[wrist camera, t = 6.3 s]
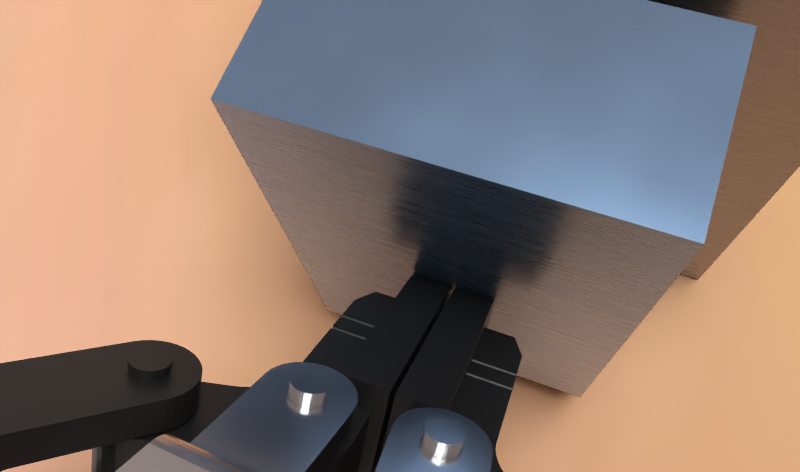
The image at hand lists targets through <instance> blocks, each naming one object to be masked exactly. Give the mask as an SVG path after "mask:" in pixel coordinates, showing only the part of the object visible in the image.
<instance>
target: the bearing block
mask: <svg viewBox="0 0 800 472" xmlns="http://www.w3.org/2000/svg"><path fill="white" fill-rule="evenodd" d="M262 1H263V0H262ZM648 1H653V2H657V3H661V4H665V5H670V6H674V7H678V8H682V9H687V10H691V11H695V12H699V13H704V14H708V15H712V16H716V17H721V18H725V19H729V20H733V21H738V22H742V23H746V24H750V25H755V26H757V28H756V32H755V36H754V40H753V44H752V49H751V53H750V57H749V61H748V65H747V69H746V73H745V78H744V82H743V86H742V90H741V94H740V98H739V102H738V106H737V111H736V115H735V119H734V123H733V127H732V131H731V135H730V140H729V144H728V148H727V152H726V156H725V160H724V164H723V169H722V173H721V177H720V181H719V185H718V189H717V193H716V198H715V202H714V206H713V210H712V214H711V218H710V222H709V227H708V231H707V235H706V239H705V243H704V245H703V246H702V248H701V249H700V250H699V251H698V252H697V254H696V255H695V256H694V257H693V259H692V260H691V261H690V262H689V264H688V265H687V266H686V267H685V268H684V270H683V271H682V272H681V273H680V274H682V275H685V276H688V277H692V278H695V279H699V278H700V277H701V276H702V275H703V273H704V272H705V271H706V270H707V269H708V268H709V267H710V266H711V264H712V263H713V262H714V261H715V260H716V259H717V258H718V257H719V256H720V254H721V253H722V252H723V251H724V250H725V249H726V248H727V247H728V246H729V244H730V243H731V242H732V241H733V240H734V239H735V238H736V237H737V235H738V234H739V233H740V232H741V231H742V230H743V229H744V228H745V227H746V225H747V224H748V223H749V222H750V221H751V220H752V219H753V218H754V217H755V215H756V214H757V213H758V212H759V211H760V210H761V209H762V208H763V206H764V205H765V204H766V203H767V202H768V201H769V200H770V199H771V198H772V196H773V195H774V194H775V193H776V192H777V191H778V190H779V189H780V187H781V186H782V185H783V184H784V183H785V182H786V181H787V180H788V179H789V177H790V176H791V175H792V174H793V173H794V172H795V171H796V170H797V169H798V167H799V166H800V0H648Z"/></svg>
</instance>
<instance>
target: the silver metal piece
mask: <svg viewBox="0 0 800 472" xmlns="http://www.w3.org/2000/svg"><path fill="white" fill-rule="evenodd" d="M756 28H757V26H755V25H750V24H746V23H742V22H738V21H733V20H729V19H725V18H721V17H716V16H712V15H708V14H704V13H699V12H695V11H691V10H687V9H682V8H678V7H674V6H670V5H665V4H661V3H657V2H653V1H648V0H263V1H262V3H261V5H260V7H259V9H258V10H257V12H256V14H255V16H254V18H253V20H252V22H251V24H250V26H249V27H248V29H247V31H246V33H245V35H244V37H243V39H242V41H241V43H240V44H239V46H238V48H237V50H236V52H235V54H234V56H233V58H232V59H231V61H230V63H229V65H228V67H227V69H226V71H225V73H224V75H223V76H222V78H221V80H220V82H219V84H218V86H217V88H216V90H215V92H214V93H213V95H212V97H211V100H212V102H213V104H214V106H215V108H216V109H217V111H218V113H219V115H220V117H221V118H222V120H223V122H224V124H225V126H226V127H227V129H228V131H229V133H230V135H231V136H232V138H233V140H234V142H235V144H236V145H237V147H238V149H239V151H240V153H241V154H242V156H243V158H244V160H245V162H246V163H247V165H248V167H249V169H250V171H251V172H252V174H253V176H254V178H255V180H256V181H257V183H258V185H259V187H260V189H261V190H262V192H263V194H264V196H265V198H266V199H267V201H268V203H269V205H270V207H271V208H272V210H273V212H274V214H275V216H276V217H277V219H278V221H279V223H280V225H281V226H282V228H283V230H284V232H285V234H286V235H287V237H288V239H289V241H290V243H291V244H292V246H293V248H294V250H295V252H296V253H297V255H298V257H299V259H300V261H301V262H302V264H303V266H304V268H305V270H306V271H307V273H308V275H309V277H310V279H311V280H312V282H313V284H314V286H315V288H316V289H317V291H318V293H319V295H320V297H321V298H322V300H323V302H324V304H325V306H326V307H327V309H328V310H329V311H332V312H335V313H338V314H340V315H343V313H344V312H345V311H346V310H347V308H348V307H349V306H350V305H351V304H352V302H353V301H354V300H356V299H358V298H361V297H363V296H366V295H368V294H371V293H373V292H379V293H382V294H385V295H388V296H391V297H394V298H395V297H396V296H397V295H398V293H399V292H400V291H401V289H402V288H403V286H404V285H405V284H406V282H407V281H408V279H409V278H410V277H411V276H412V275H414V276H417V277H420V278H423V279H426V280H429V281H432V282H435V283H439V284H442V285H445V286H448V287H451V294H452V292H453V290H454V289H458V290H461V291H464V292H467V293H470V294H473V295H476V296H479V297H482V298H485V299H488V300H492V301H494V305H493V309H492V313H491V317H490V320H489V324H488V327H487V328H488V329H491V330H494V331H497V332H500V333H503V334H506V335H509V336H512V337H515V339H516V342H517V344H518V347H519V349H520V352H521V354H522V358H521V362H520V365H519V369H518V372H517V376H520V377H523V378H526V379H529V380H532V381H535V382H538V383H540V384H543V385H546V386H549V387H552V388H555V389H558V390H561V391H564V392H567V393H569V394H572V395H575V396H578V397H581V395H582V394H583V393H584V392H585V390H586V389H587V388H588V387H589V385H590V384H591V383H592V382H593V381H594V379H595V378H596V377H597V376H598V374H599V373H600V372H601V371H602V369H603V368H604V367H605V366H606V365H607V363H608V362H609V361H610V360H611V358H612V357H613V356H614V355H615V353H616V352H617V351H618V350H619V349H620V347H621V346H622V345H623V344H624V342H625V341H626V340H627V339H628V337H629V336H630V335H631V334H632V332H633V331H634V330H635V329H636V328H637V326H638V325H639V324H640V323H641V321H642V320H643V319H644V318H645V316H646V315H647V314H648V313H649V312H650V310H651V309H652V308H653V307H654V305H655V304H656V303H657V302H658V300H659V299H660V298H661V297H662V296H663V294H664V293H665V292H666V291H667V289H668V288H669V287H670V286H671V284H672V283H673V282H674V281H675V280H676V278H677V277H678V276H679V275H680V273H681V272H682V271H683V270H684V268H685V267H686V266H687V265H688V264H689V262H690V261H691V260H692V259H693V257H694V256H695V255H696V254H697V252H698V251H699V250H700V249H701V248H702V246H703V245H704V243H705V239H706V235H707V231H708V227H709V222H710V218H711V214H712V210H713V206H714V202H715V198H716V193H717V189H718V185H719V181H720V177H721V173H722V169H723V164H724V160H725V156H726V152H727V148H728V144H729V140H730V135H731V131H732V127H733V123H734V119H735V115H736V111H737V106H738V102H739V98H740V94H741V90H742V86H743V82H744V78H745V73H746V69H747V65H748V61H749V57H750V53H751V49H752V44H753V40H754V36H755V32H756Z"/></svg>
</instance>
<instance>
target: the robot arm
mask: <svg viewBox="0 0 800 472" xmlns="http://www.w3.org/2000/svg"><path fill="white" fill-rule="evenodd" d="M493 305H494V301H492V300H488V299H485V298H482V297H479V296H476V295H473V294H470V293H467V292H464V291H461V290H458V289H454V290H453V292H452V294H451V287H448V286H445V285H442V284H439V283H435V282H432V281H429V280H426V279H423V278H420V277H417V276H414V275H412V276H411V277H410V278H409V279H408V281H407V282H406V284H405V285H404V286H403V288H402V289H401V291H400V292H399V293H398V295H397V296H396V297H395V298H394V297H391V296H388V295H385V294H382V293H379V292H373V293H371V294H368V295H366V296H363V297H361V298H358V299H356V300H354V301H353V302H352V304H351V305H350V306H349V307H348V308H347V310H346V311H345V312H344V313H343V315H342V317H340V318H339V319H338V320H337V322H336V323H335V324H334V325H333V328H332V329H330V330H329V331H328V332H327V334H326V335H325V336H324V337H323V338H322V340H321V341H320V342H319V343H318V344H317V346H316V347H315V348H314V349H313V350H312V352H311V353H310V354H309V355H308V356H307V358H306V359H305V360H304V361H303V362H295V363H287V364H283V365H280V366H277V367H275V368H273V369H271V370H269V371H268V372H267V373H265V374H264V375H263V376H262V377H261V378H260V379H259V380H258V381H257V382H256V383H255V384H253V385H252V386H251V387H236V386H228V385H221V384H213V383H206V382H201V378H202V365H201V363H200V361H199V359H198V358H197V357H196V356H195V355H194V354H193V353H192V352H191V351H189V350H187V349H186V348H184V347H181V346H179V345H176V344H173V343H169V342H164V341H155V340H142V341H133V342H127V343H121V344H115V345H109V346H103V347H97V348H91V349H85V350H79V351H73V352H67V353H61V354H55V355H49V356H43V357H36V358H30V359H24V360H18V361H12V362H6V363H0V472H1V471H3V470H6V469H9V468H13V467H17V466H21V465H26V464H30V463H34V462H38V461H42V460H46V459H51V458H55V457H59V456H63V455H67V454H71V453H76V452H80V451H84V450H88V449H92V469H91V472H503V471H502V469H501V467H500V465H499V463H498V461H497V457H496V450H495V448H496V442H497V439H498V435H499V432H500V429H501V425H502V422H503V419H504V415H505V412H506V409H507V405H508V402H509V399H510V395H511V392H512V389H513V385H514V382H515V379H516V375H517V372H518V369H519V365H520V362H521V358H522V354H521V352H520V349H519V347H518V344H517V342H516V339H515V337H512V336H509V335H506V334H503V333H500V332H497V331H494V330H491V329H488V328H487V327H488V324H489V320H490V317H491V313H492V309H493Z"/></svg>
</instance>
